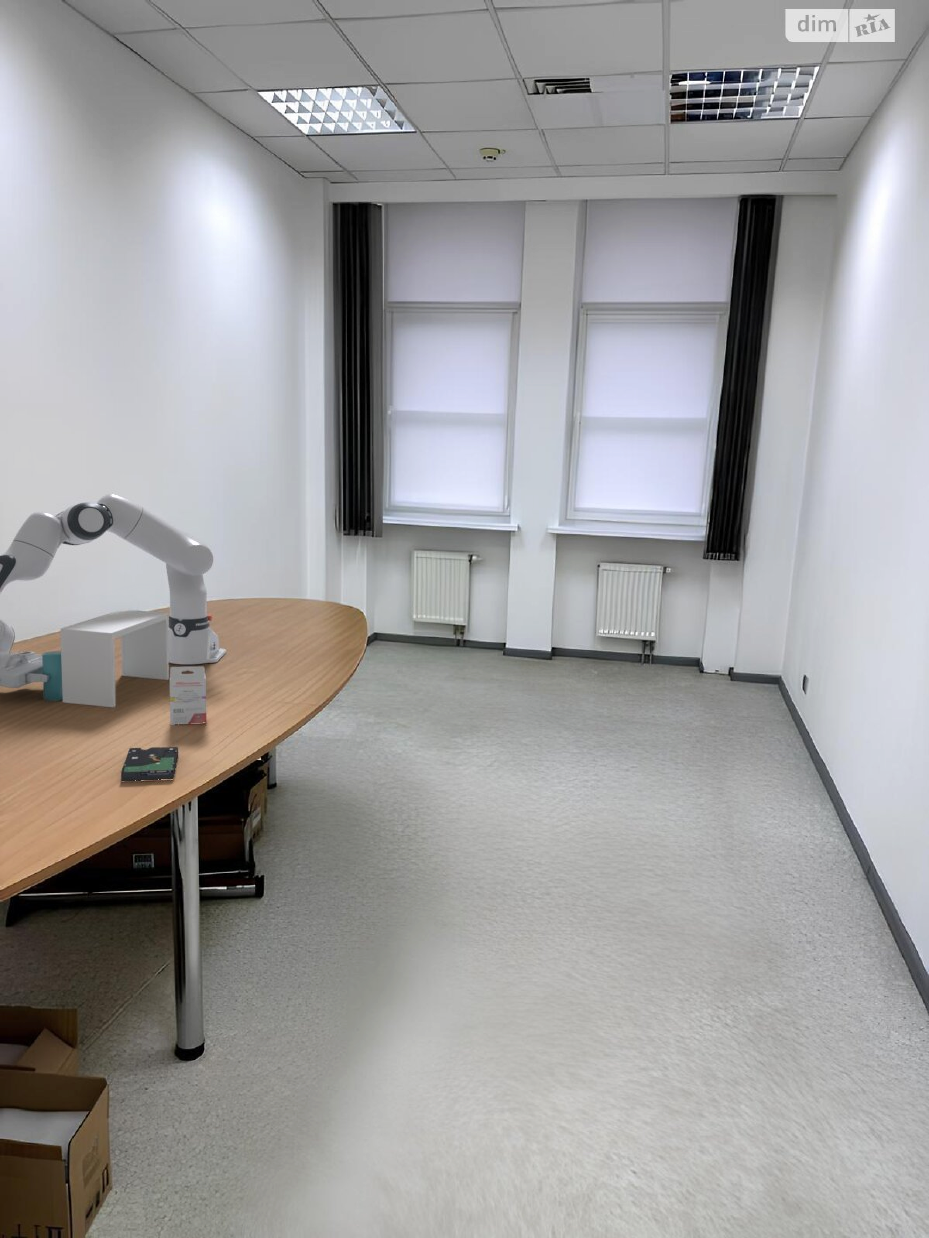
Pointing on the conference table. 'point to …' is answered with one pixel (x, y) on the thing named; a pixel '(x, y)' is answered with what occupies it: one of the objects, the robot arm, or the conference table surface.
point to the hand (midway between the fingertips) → (57, 674)
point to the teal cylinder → (52, 675)
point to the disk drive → (150, 764)
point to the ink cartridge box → (187, 695)
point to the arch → (112, 654)
